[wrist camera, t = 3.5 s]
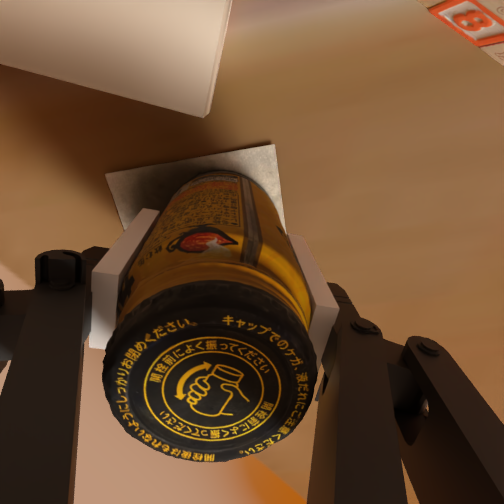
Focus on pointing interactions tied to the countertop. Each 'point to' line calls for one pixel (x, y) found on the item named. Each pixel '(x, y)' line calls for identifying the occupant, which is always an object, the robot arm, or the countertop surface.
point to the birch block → (121, 46)
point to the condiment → (210, 311)
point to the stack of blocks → (474, 22)
